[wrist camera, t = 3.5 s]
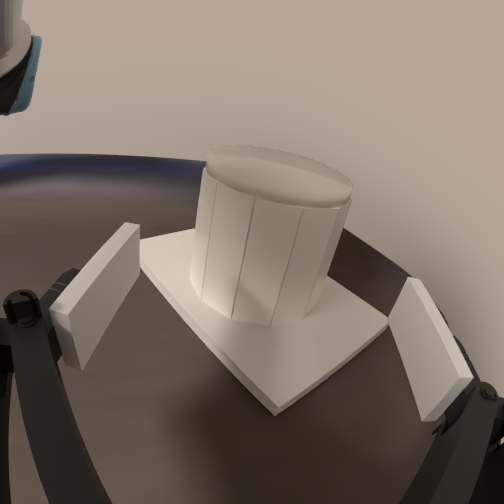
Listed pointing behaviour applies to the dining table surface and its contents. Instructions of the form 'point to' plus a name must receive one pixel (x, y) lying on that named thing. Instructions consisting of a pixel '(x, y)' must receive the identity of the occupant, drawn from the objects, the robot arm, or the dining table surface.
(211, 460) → the dining table surface
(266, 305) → the white container
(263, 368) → the white mat
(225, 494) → the dining table surface
